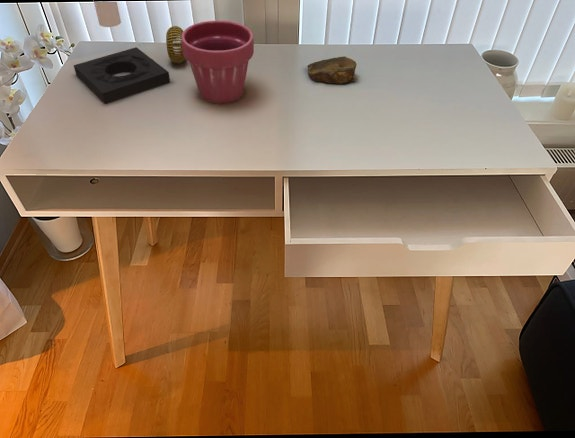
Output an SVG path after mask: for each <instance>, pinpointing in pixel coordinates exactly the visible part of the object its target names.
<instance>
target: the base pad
mask: <svg viewBox="0 0 575 438" xmlns="http://www.w3.org/2000/svg"><path fill="white" fill-rule="evenodd" d="M73 69H74V73H75V76H76V77H77V78H78V79H79V80H80V81H81V82H82V83H83V84H84V85H85V86H86V87H87V88H88V89H89V90H90V91H91V92H93V94H95V95H96V96H97V97H98V98H99V99H100V100H101V101H102V102H103V103H104V104H105V105H107V104H110V103H113V102H117V101H118V100H122V99H124V98H128V97H131V96H134V95H136V94H137V95H138V94H141V93H143V92H145V91H149V90H151V89H155V88H157V87H160V86H163V85H166V84H169V83H171V80H170V79H171V78H170V73H169V71H168V70H167V69H165V68H164V67H163V66H162V65H161V64H159V63H158V62H156V61H155V60H154V59H153V58H151V57H150V56H148V55H147V54H146V53H145V52H143V51H142V50H141V49H140V48H138V47H137V46H136V47H132V48H129V49H125V50H121V51H118V52H115V53H112V54H107V55H105V56H101V57H97V58H94V59H90V60H87V61H84V62H80V63H76V64H74V65H73ZM118 73H127V74H125V75H124V74H123V75H116V74H118ZM114 74H115V75H114Z"/></svg>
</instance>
